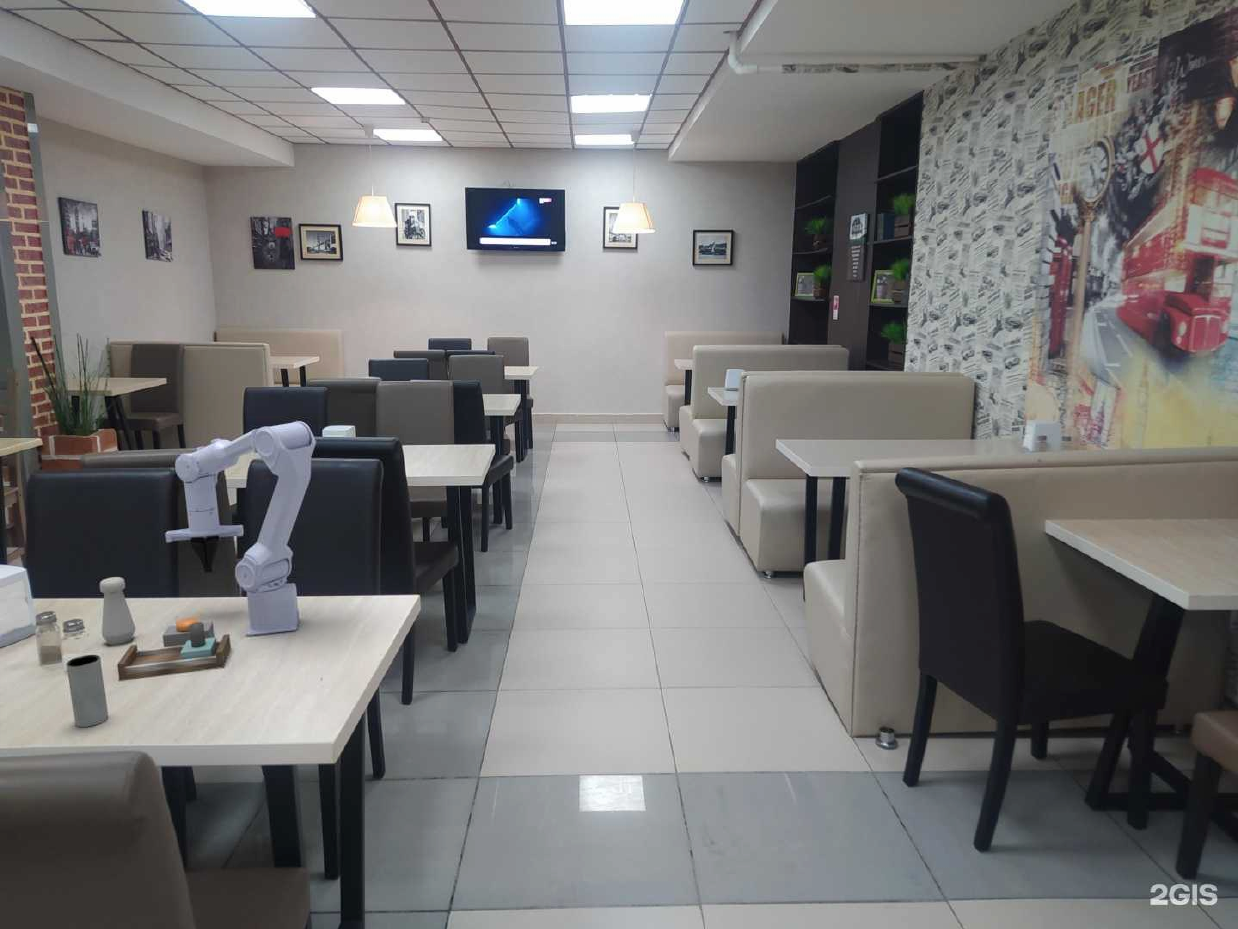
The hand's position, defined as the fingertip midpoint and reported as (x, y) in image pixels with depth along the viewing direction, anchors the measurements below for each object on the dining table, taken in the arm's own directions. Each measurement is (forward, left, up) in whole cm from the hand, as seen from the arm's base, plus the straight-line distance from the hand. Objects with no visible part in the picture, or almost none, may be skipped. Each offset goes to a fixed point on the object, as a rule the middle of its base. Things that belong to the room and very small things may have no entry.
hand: (209, 571), depth 176 cm
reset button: (+2, +15, -10) cm, 18 cm away
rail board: (+2, +24, -10) cm, 26 cm away
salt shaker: (+16, +8, -11) cm, 21 cm away
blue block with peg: (-1, +24, -9) cm, 26 cm away
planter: (+11, +44, -11) cm, 47 cm away
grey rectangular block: (+2, +15, -10) cm, 18 cm away
